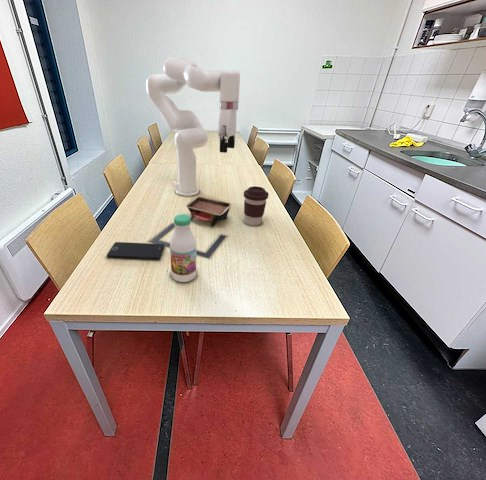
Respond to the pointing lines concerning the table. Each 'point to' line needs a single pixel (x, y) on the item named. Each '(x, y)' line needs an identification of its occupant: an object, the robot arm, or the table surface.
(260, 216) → the coffee cup
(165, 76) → the robot arm
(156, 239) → the tape outline
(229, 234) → the table surface
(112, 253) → the cell phone
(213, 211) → the baking dish
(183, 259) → the milk bottle
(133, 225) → the table surface
